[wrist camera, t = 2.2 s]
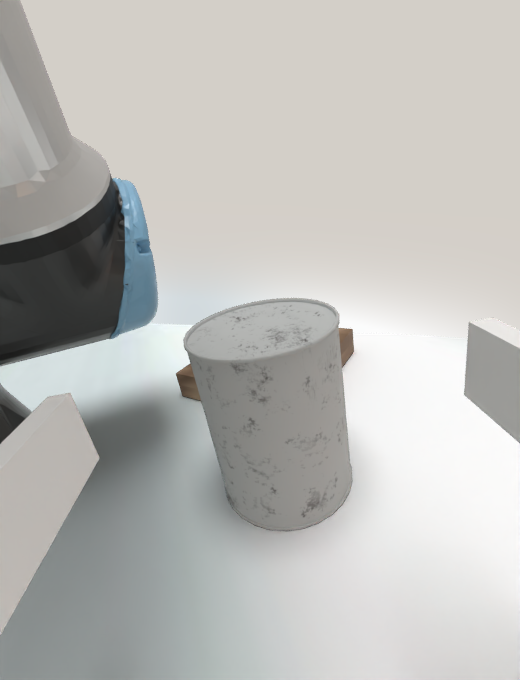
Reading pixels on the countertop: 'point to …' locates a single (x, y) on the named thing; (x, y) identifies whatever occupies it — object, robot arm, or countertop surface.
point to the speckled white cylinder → (275, 408)
